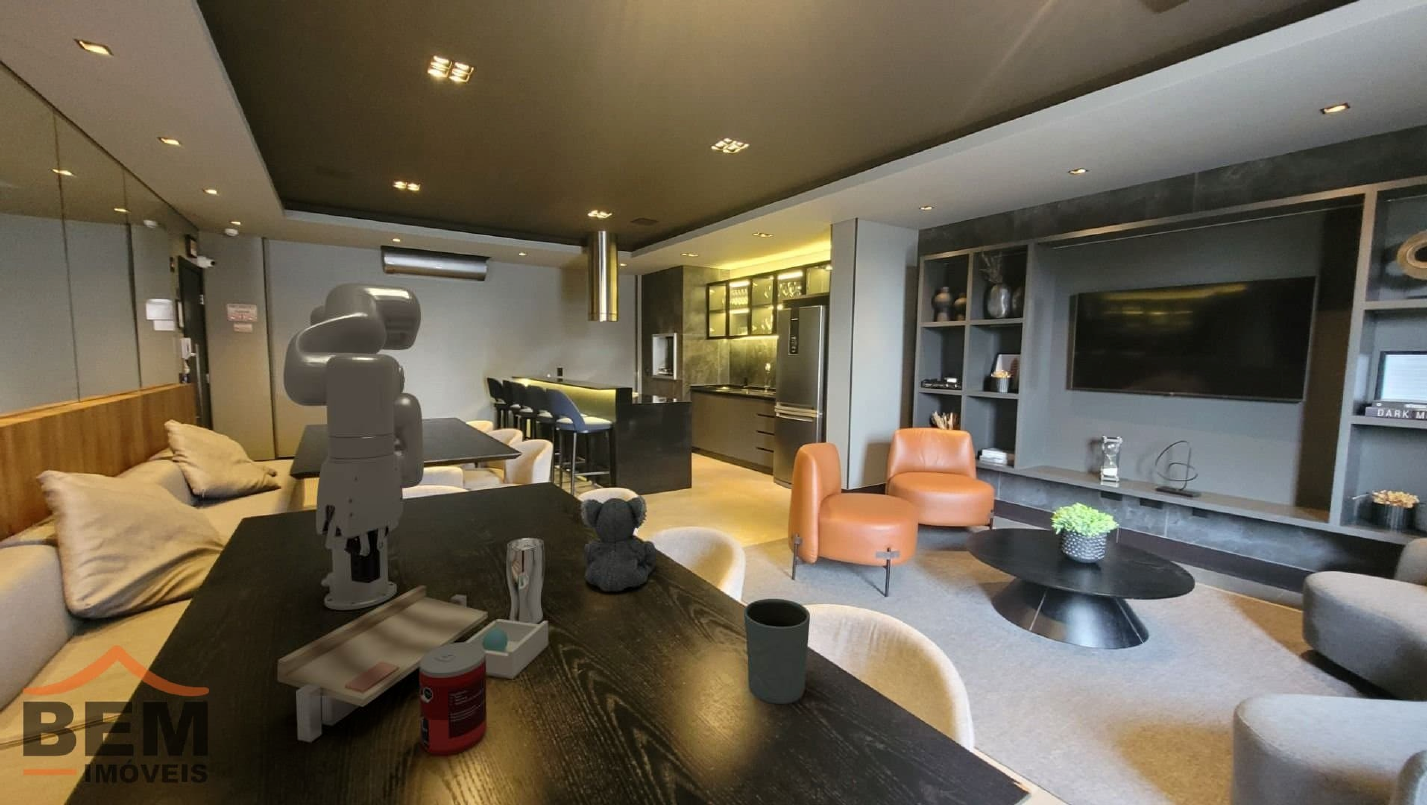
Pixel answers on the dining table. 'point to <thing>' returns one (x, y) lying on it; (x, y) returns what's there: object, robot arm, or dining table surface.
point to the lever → (378, 647)
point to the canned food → (452, 697)
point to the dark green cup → (776, 649)
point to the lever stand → (327, 704)
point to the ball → (495, 640)
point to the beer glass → (525, 579)
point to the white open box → (513, 646)
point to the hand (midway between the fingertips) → (365, 579)
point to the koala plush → (617, 544)
